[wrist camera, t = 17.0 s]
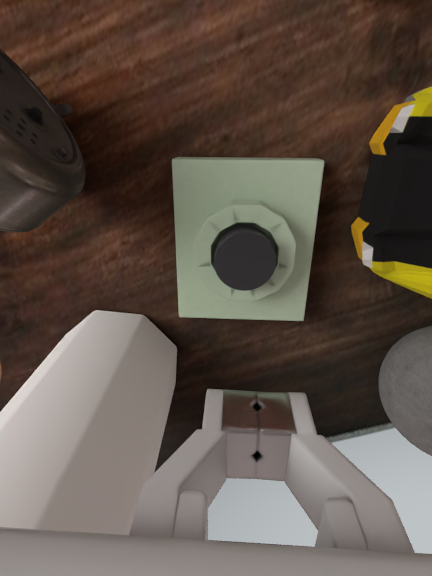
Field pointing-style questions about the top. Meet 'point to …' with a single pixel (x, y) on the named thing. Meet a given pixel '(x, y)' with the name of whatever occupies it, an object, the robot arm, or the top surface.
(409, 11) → the top surface
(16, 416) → the cup
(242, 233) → the button
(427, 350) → the decorative ball
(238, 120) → the top surface
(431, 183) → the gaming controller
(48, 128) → the alarm clock
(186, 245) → the button box
